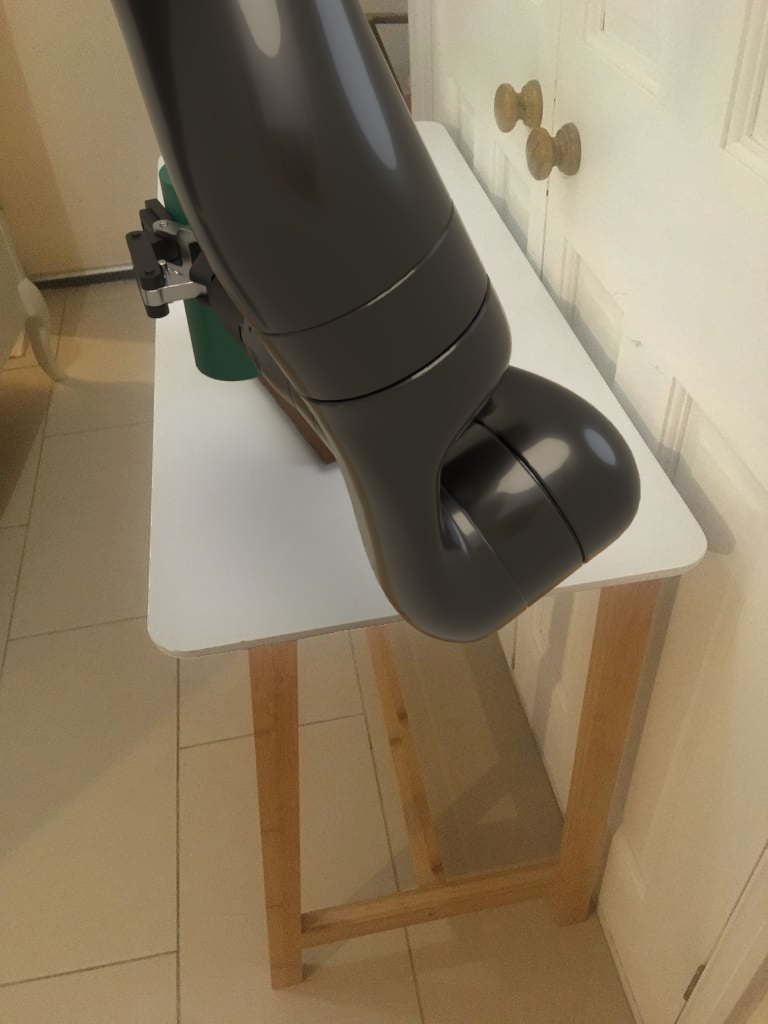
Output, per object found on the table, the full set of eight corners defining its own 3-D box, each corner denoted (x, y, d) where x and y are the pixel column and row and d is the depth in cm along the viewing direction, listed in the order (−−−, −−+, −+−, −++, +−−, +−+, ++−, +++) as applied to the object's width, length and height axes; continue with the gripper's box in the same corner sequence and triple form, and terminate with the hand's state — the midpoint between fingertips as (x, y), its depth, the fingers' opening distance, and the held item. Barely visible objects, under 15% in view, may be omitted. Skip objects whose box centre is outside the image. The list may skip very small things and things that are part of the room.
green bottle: (180, 374, 59) (120, 90, 47) (217, 330, 63) (171, 58, 51) (261, 387, 57) (221, 97, 45) (294, 341, 62) (265, 64, 49)
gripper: (439, 217, 44) (301, 120, 55) (163, 289, 39) (72, 166, 50) (436, 347, 49) (310, 233, 60) (192, 424, 44) (104, 285, 55)
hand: (202, 203), depth 55 cm, fingers closed on green bottle, 6 cm apart
